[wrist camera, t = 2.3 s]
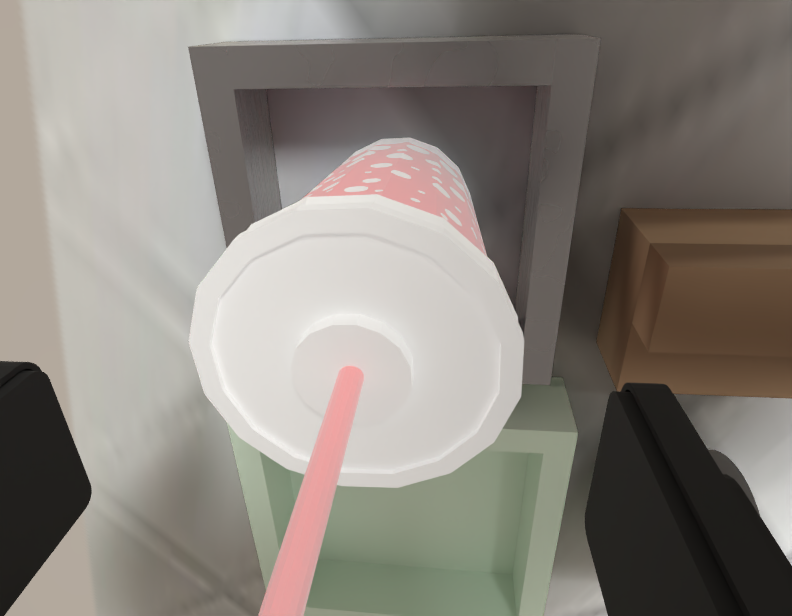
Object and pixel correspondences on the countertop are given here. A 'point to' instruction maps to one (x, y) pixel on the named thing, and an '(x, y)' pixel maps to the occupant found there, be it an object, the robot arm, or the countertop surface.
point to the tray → (434, 524)
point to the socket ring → (415, 67)
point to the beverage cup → (359, 339)
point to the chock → (701, 301)
